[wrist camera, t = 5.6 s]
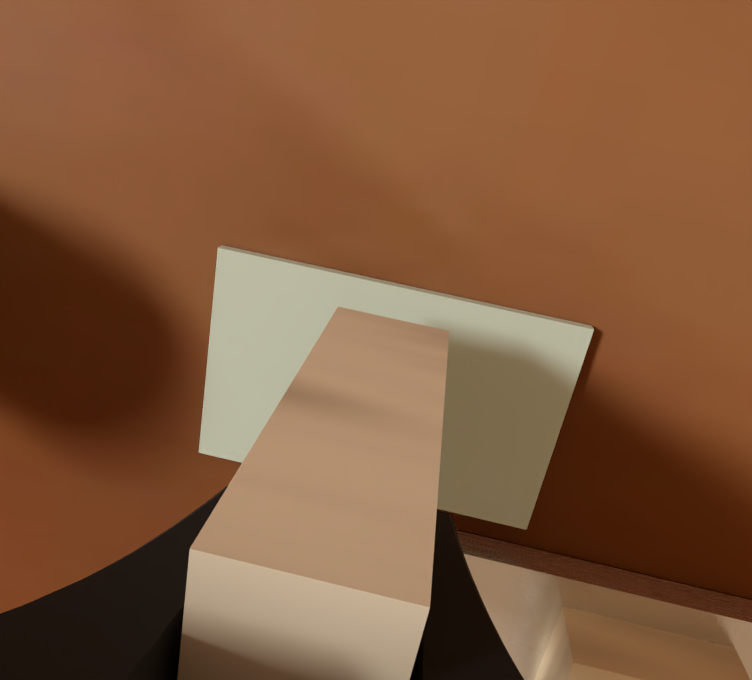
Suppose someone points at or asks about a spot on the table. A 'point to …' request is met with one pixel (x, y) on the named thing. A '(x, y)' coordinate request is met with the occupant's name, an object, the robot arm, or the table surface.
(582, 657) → the offcut lower
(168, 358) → the table surface
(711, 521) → the table surface
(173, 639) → the robot arm
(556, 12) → the table surface
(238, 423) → the mat
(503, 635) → the rack
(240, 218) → the table surface
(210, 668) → the birch block
